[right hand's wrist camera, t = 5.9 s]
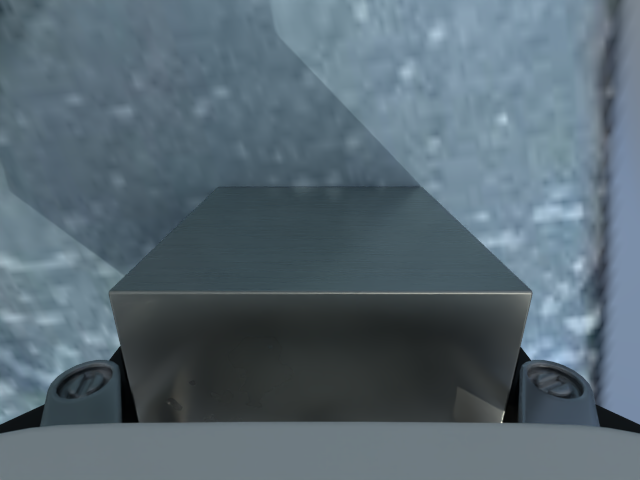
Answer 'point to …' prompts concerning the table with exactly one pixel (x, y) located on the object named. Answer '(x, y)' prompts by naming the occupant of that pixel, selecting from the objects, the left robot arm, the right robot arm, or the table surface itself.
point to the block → (320, 312)
